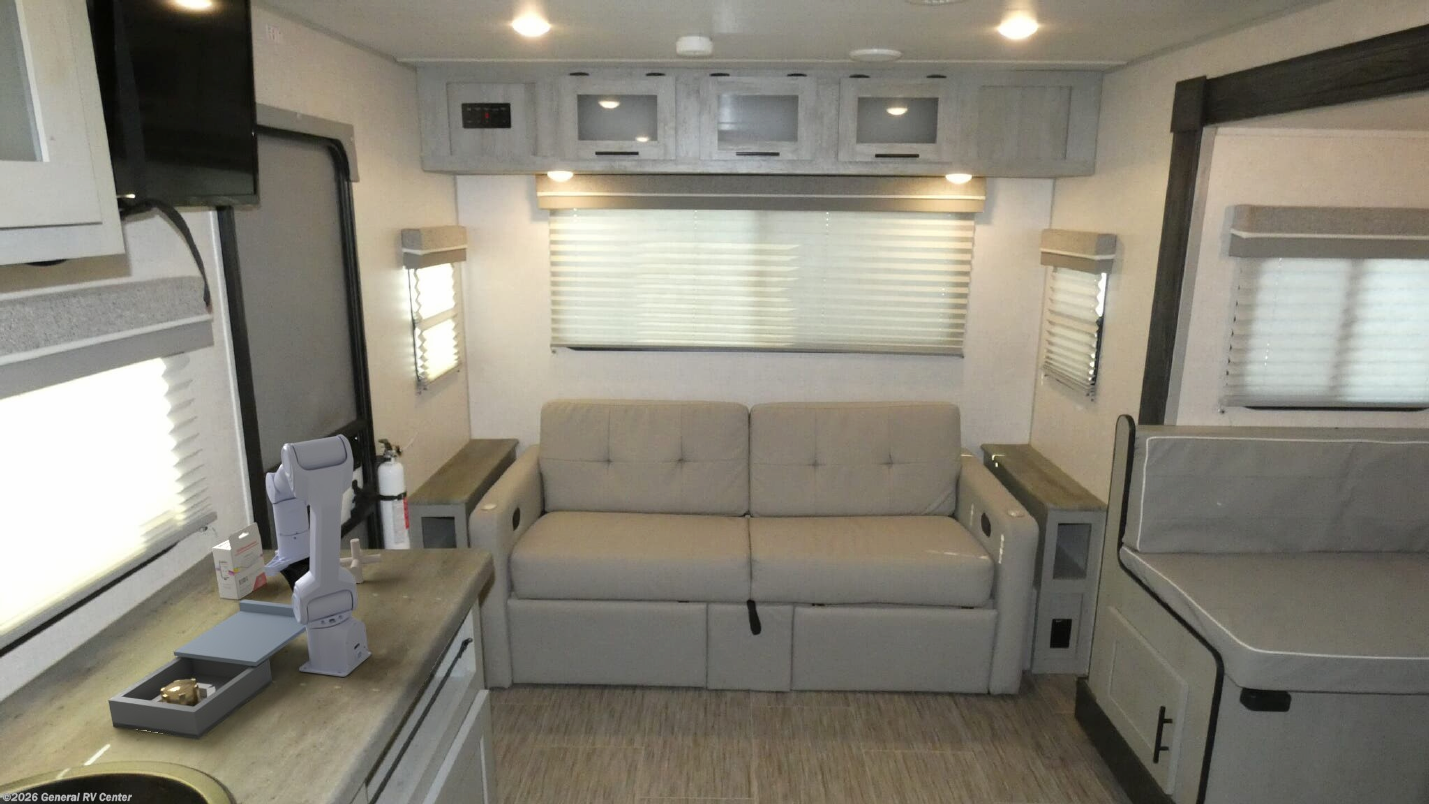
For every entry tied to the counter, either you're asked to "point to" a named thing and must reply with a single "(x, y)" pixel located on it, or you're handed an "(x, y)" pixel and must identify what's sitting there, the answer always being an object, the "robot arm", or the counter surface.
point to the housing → (219, 699)
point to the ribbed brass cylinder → (181, 693)
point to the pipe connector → (358, 560)
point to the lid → (246, 634)
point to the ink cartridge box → (240, 563)
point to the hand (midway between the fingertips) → (300, 594)
